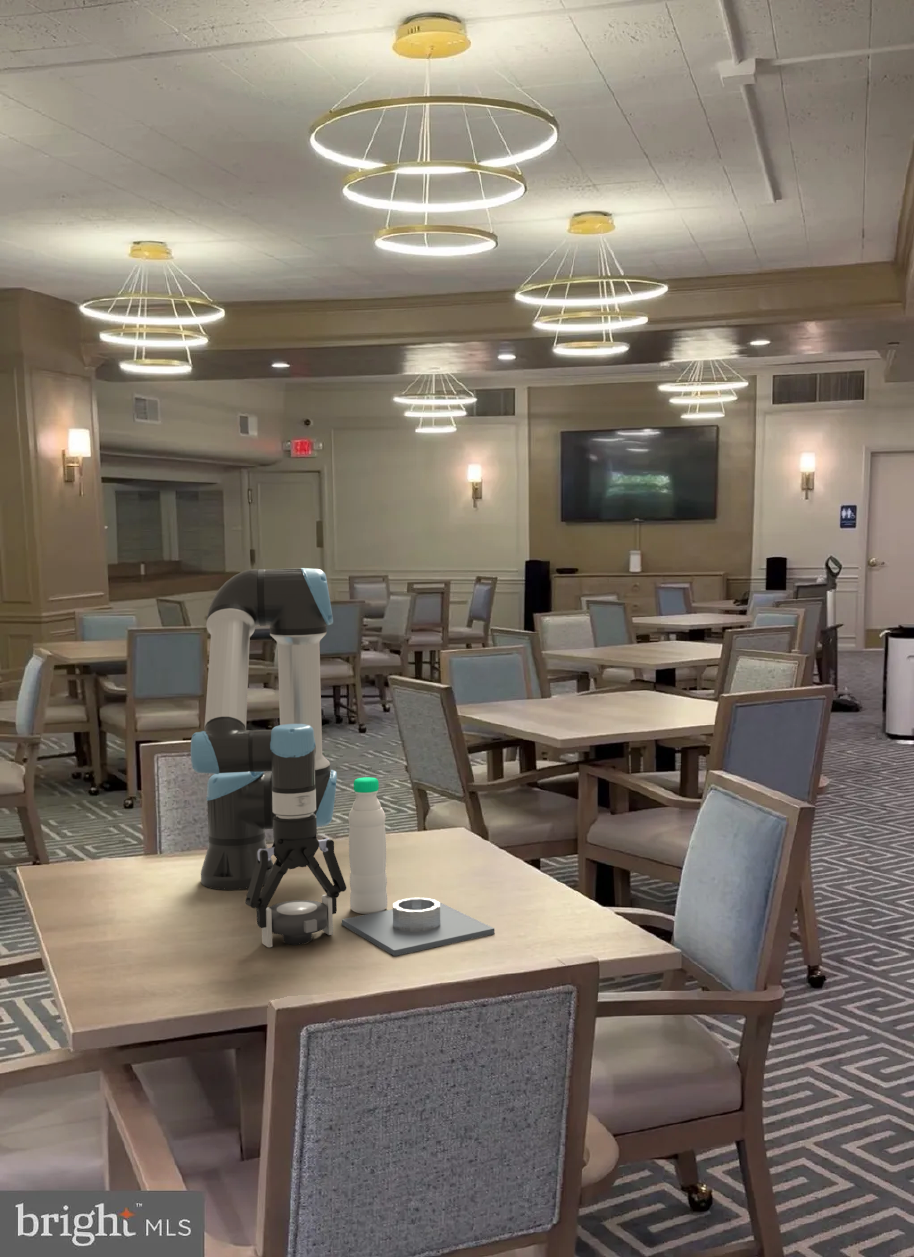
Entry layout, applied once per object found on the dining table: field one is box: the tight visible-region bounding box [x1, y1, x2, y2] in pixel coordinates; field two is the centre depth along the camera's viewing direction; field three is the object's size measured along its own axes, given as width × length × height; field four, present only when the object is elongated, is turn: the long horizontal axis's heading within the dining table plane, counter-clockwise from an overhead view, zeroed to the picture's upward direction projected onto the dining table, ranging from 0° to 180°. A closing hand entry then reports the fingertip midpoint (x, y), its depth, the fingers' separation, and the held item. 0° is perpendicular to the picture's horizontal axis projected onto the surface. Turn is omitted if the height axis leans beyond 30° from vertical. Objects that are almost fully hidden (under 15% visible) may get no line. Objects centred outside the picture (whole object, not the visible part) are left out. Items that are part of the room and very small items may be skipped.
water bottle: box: [347, 776, 388, 915], centre depth 215 cm, size 7×7×25 cm
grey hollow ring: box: [392, 896, 441, 932], centre depth 203 cm, size 8×8×4 cm
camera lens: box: [268, 899, 327, 946], centre depth 198 cm, size 12×10×6 cm
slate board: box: [341, 902, 495, 957], centre depth 203 cm, size 20×20×1 cm
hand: (297, 938), depth 198 cm, fingers open, 11 cm apart
